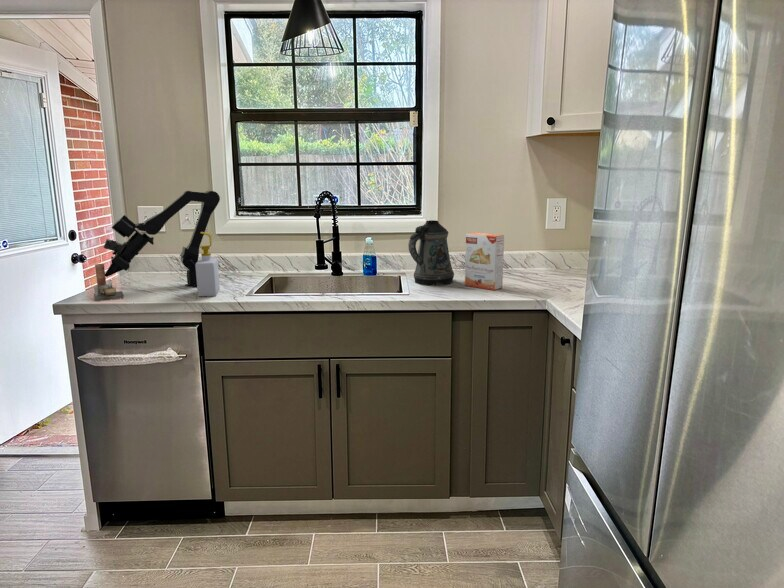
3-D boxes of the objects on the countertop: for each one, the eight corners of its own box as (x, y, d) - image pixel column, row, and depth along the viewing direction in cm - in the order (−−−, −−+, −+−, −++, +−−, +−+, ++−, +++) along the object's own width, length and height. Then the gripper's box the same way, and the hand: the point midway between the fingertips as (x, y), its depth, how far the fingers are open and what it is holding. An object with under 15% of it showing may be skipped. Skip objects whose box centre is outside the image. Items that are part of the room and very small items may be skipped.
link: (117, 294, 211) (114, 267, 209) (107, 295, 208) (104, 268, 206) (106, 289, 219) (103, 263, 217) (96, 290, 217) (92, 264, 215)
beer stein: (459, 279, 238) (460, 219, 233) (441, 288, 222) (442, 224, 216) (423, 276, 246) (423, 218, 240) (403, 285, 229) (403, 222, 223)
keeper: (112, 292, 216) (111, 277, 215) (113, 295, 211) (111, 280, 209) (94, 293, 214) (93, 279, 212) (95, 297, 208) (93, 282, 207)
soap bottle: (202, 290, 223) (197, 230, 217) (220, 289, 224) (215, 229, 219) (197, 297, 211) (192, 234, 206) (216, 296, 212) (211, 233, 207)
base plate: (122, 293, 218) (122, 291, 218) (123, 298, 210) (123, 295, 210) (94, 296, 214) (94, 293, 214) (94, 301, 206) (94, 298, 206)
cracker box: (464, 286, 226) (465, 233, 222) (473, 283, 231) (474, 231, 226) (494, 290, 217) (496, 235, 212) (502, 288, 221) (504, 234, 217)
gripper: (116, 228, 224) (87, 258, 222) (115, 234, 207) (85, 266, 205) (139, 247, 229) (112, 276, 227) (141, 254, 212) (112, 286, 210)
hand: (105, 276), depth 217 cm, fingers closed, pressing on link
